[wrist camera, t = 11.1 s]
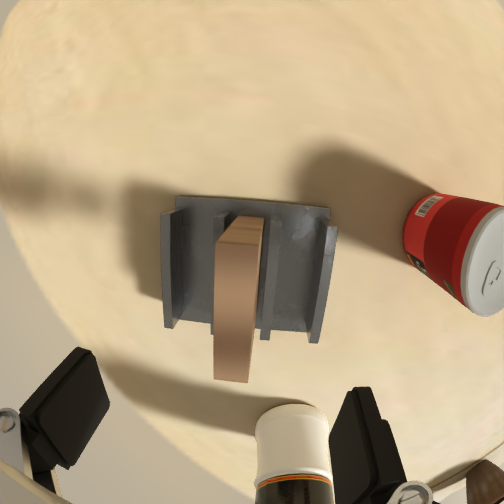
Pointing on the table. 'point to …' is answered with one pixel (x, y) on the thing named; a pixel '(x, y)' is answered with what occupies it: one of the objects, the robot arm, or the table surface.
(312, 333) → the rack
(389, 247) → the table surface
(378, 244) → the table surface
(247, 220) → the board
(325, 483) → the vodka
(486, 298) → the canned food
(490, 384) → the table surface
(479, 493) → the plant pot
